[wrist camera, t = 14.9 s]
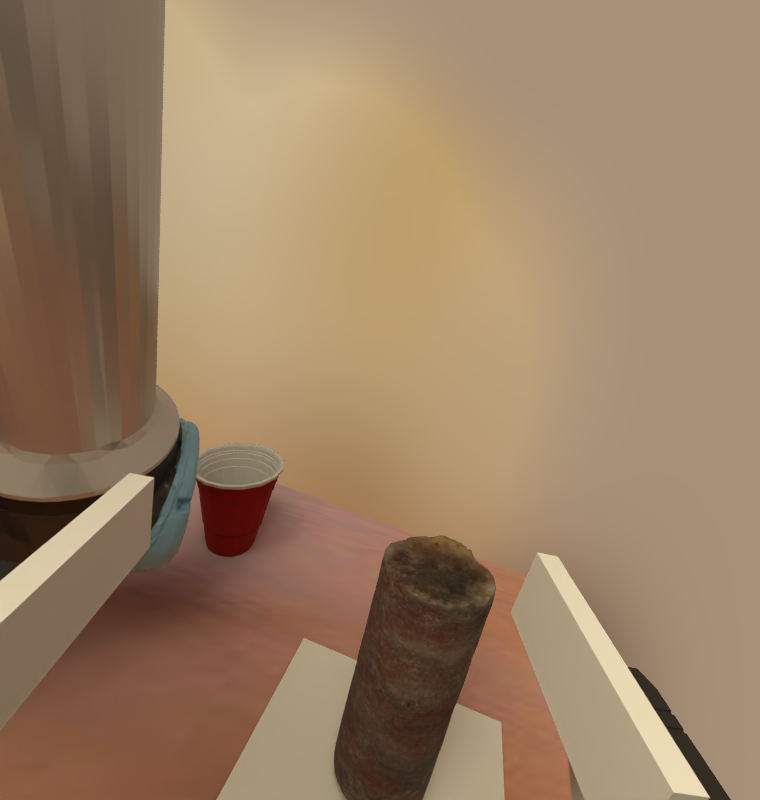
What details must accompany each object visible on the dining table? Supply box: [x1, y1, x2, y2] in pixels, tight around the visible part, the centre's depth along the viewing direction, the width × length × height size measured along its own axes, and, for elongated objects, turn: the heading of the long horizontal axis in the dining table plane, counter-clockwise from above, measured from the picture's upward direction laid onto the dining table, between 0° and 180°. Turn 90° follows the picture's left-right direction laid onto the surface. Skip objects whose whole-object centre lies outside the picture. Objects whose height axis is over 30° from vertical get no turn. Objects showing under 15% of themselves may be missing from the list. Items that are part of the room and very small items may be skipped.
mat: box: [217, 638, 505, 800], centre depth 31 cm, size 20×16×1 cm
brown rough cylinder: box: [334, 536, 496, 800], centre depth 28 cm, size 8×7×20 cm
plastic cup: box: [196, 443, 284, 556], centre depth 49 cm, size 11×11×12 cm
